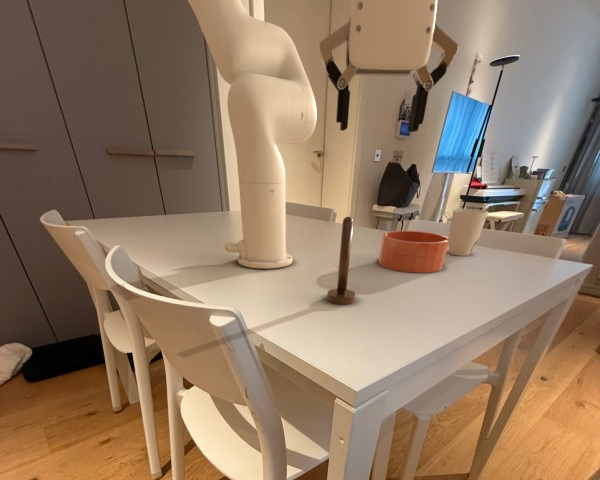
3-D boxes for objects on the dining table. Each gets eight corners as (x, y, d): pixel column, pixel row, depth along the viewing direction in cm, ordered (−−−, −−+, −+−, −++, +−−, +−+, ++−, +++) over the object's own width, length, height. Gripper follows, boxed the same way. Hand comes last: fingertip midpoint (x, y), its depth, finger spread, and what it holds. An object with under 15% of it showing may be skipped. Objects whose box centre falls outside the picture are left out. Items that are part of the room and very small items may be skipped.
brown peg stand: (327, 304, 56) (333, 218, 49) (326, 294, 60) (331, 214, 53) (356, 305, 56) (366, 219, 49) (353, 295, 60) (362, 214, 53)
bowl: (384, 271, 73) (389, 242, 70) (374, 256, 85) (378, 230, 81) (450, 273, 73) (459, 243, 69) (431, 257, 85) (438, 231, 81)
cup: (480, 257, 86) (494, 213, 80) (448, 256, 86) (460, 212, 80) (468, 250, 92) (480, 209, 87) (438, 249, 92) (449, 208, 87)
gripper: (467, -51, 40) (431, 133, 50) (321, -54, 40) (315, 131, 50) (496, -88, 34) (449, 130, 44) (324, -93, 34) (316, 127, 44)
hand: (378, 130), depth 47 cm, fingers open, 9 cm apart
